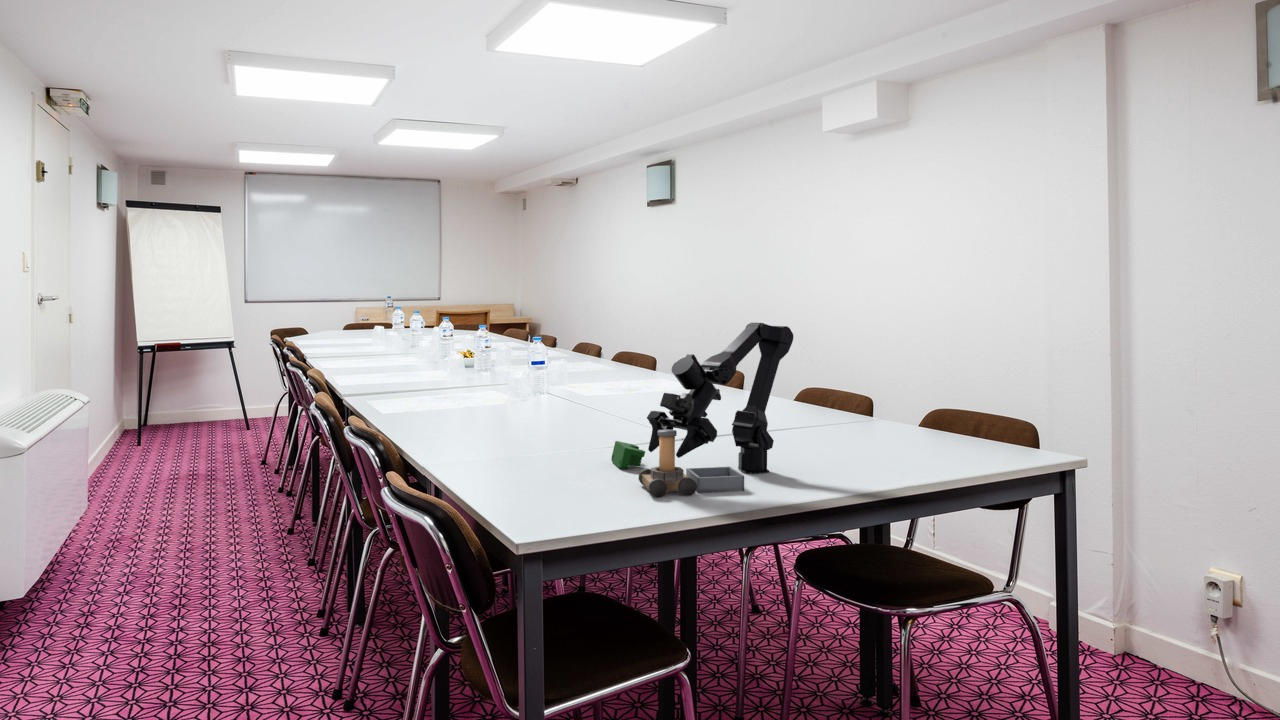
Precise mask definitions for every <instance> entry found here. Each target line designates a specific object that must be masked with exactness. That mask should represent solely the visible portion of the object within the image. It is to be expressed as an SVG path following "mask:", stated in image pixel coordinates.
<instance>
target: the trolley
mask: <svg viewBox="0 0 1280 720" xmlns="http://www.w3.org/2000/svg"><path fill="white" fill-rule="evenodd" d="M638 482H639V483H640V484H641V485H642V486H644V487H645V488H646V489H647V490H648V492H649V494H650V495H651V496H652V497H654V498H661V497H664V496H665V494H666V493H667V492H680V493H681V494H682V495H683V496H685V497H690V496H693V495H694V494H695V493H696V492H697V491H696V489H697V484H696V482H695V481H694V480H693V479H691V478H689V477H687V476H686V474H685V473H684V469H683V468H682V467H680V466H675V471H672V472H663V471H659V465H658V466H654V467H651V468H645V469H642V470H641V471H640V472H639V474H638Z"/></svg>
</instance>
